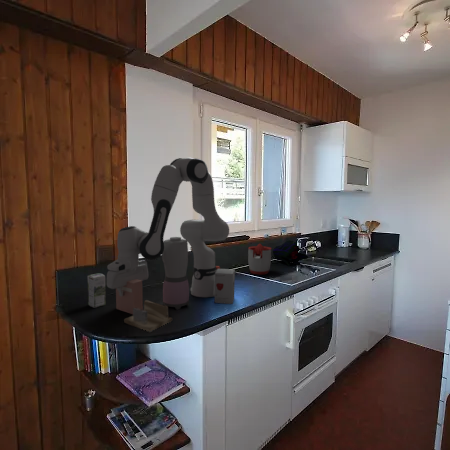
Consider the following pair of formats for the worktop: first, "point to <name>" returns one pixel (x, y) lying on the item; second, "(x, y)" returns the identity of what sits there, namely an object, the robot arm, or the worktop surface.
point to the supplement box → (224, 286)
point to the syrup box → (96, 290)
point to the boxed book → (130, 296)
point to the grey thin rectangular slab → (140, 316)
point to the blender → (175, 273)
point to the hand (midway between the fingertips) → (129, 293)
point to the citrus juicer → (259, 259)
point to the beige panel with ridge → (152, 316)
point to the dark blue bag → (289, 253)
